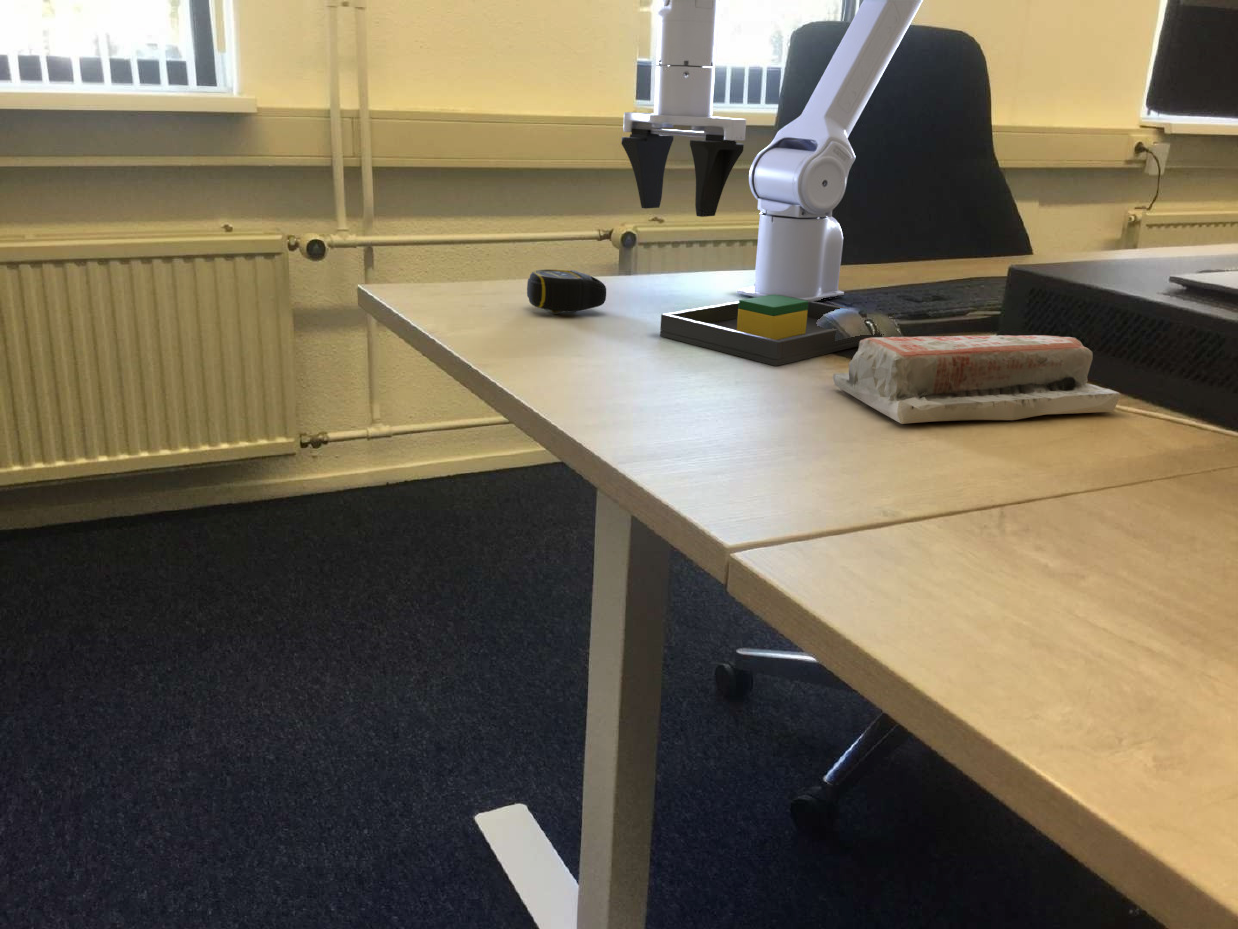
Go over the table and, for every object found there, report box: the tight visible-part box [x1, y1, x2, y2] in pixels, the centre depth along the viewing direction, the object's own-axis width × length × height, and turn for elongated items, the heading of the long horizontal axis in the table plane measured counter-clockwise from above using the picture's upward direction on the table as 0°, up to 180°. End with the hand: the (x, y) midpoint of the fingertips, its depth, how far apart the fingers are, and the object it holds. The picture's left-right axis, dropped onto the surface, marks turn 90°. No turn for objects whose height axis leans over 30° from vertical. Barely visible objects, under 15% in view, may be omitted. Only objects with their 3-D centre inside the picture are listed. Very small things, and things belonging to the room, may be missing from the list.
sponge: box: [737, 294, 808, 340], centre depth 94 cm, size 5×4×3 cm
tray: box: [659, 295, 894, 367], centre depth 95 cm, size 17×13×2 cm
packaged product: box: [832, 334, 1122, 425], centre depth 76 cm, size 18×5×10 cm
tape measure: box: [526, 268, 607, 315], centre depth 102 cm, size 7×7×4 cm
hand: (677, 211), depth 105 cm, fingers open, 7 cm apart
